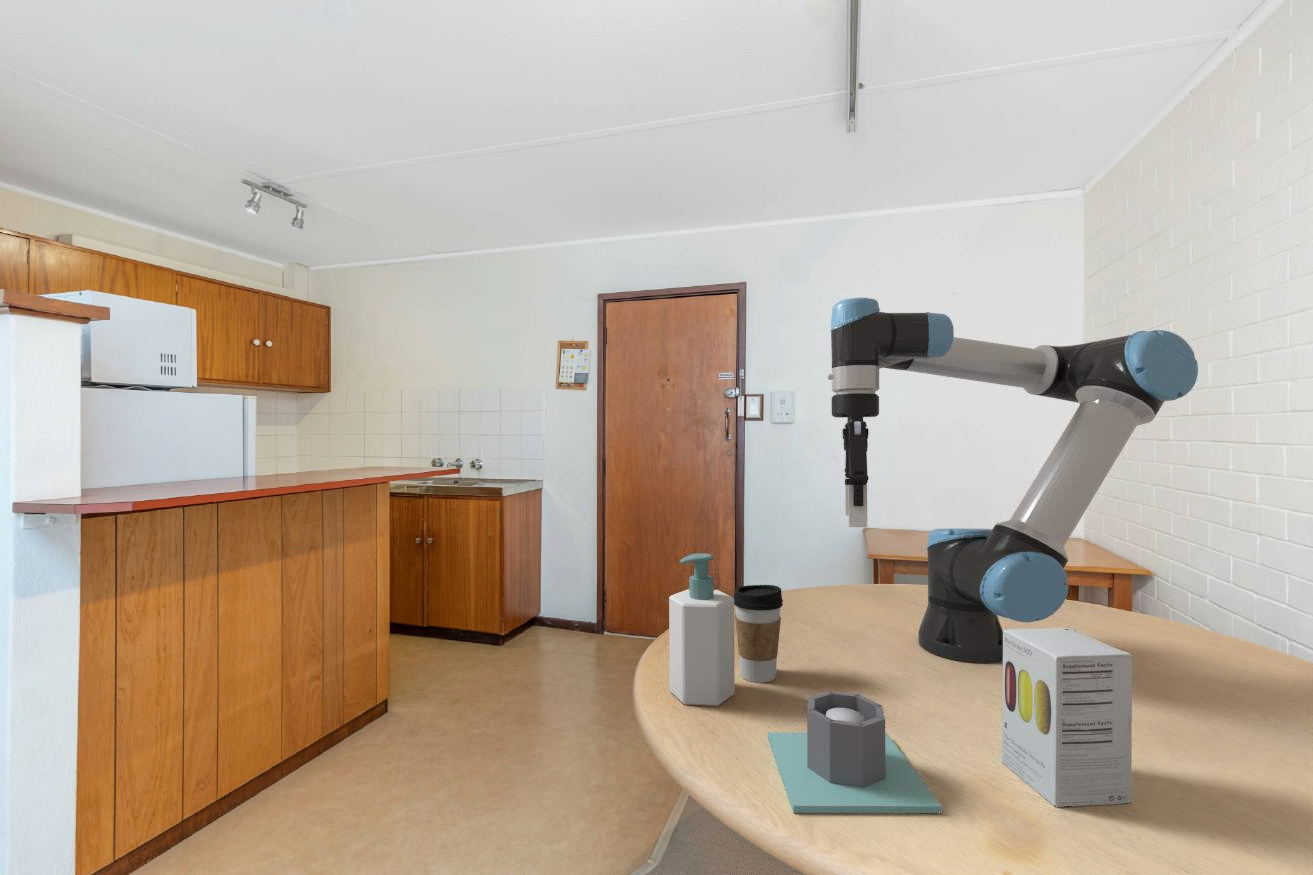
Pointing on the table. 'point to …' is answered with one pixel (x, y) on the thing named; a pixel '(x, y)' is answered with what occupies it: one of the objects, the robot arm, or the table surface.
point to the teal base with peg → (819, 796)
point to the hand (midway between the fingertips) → (855, 521)
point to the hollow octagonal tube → (846, 740)
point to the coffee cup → (758, 630)
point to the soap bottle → (701, 639)
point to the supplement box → (1067, 716)
